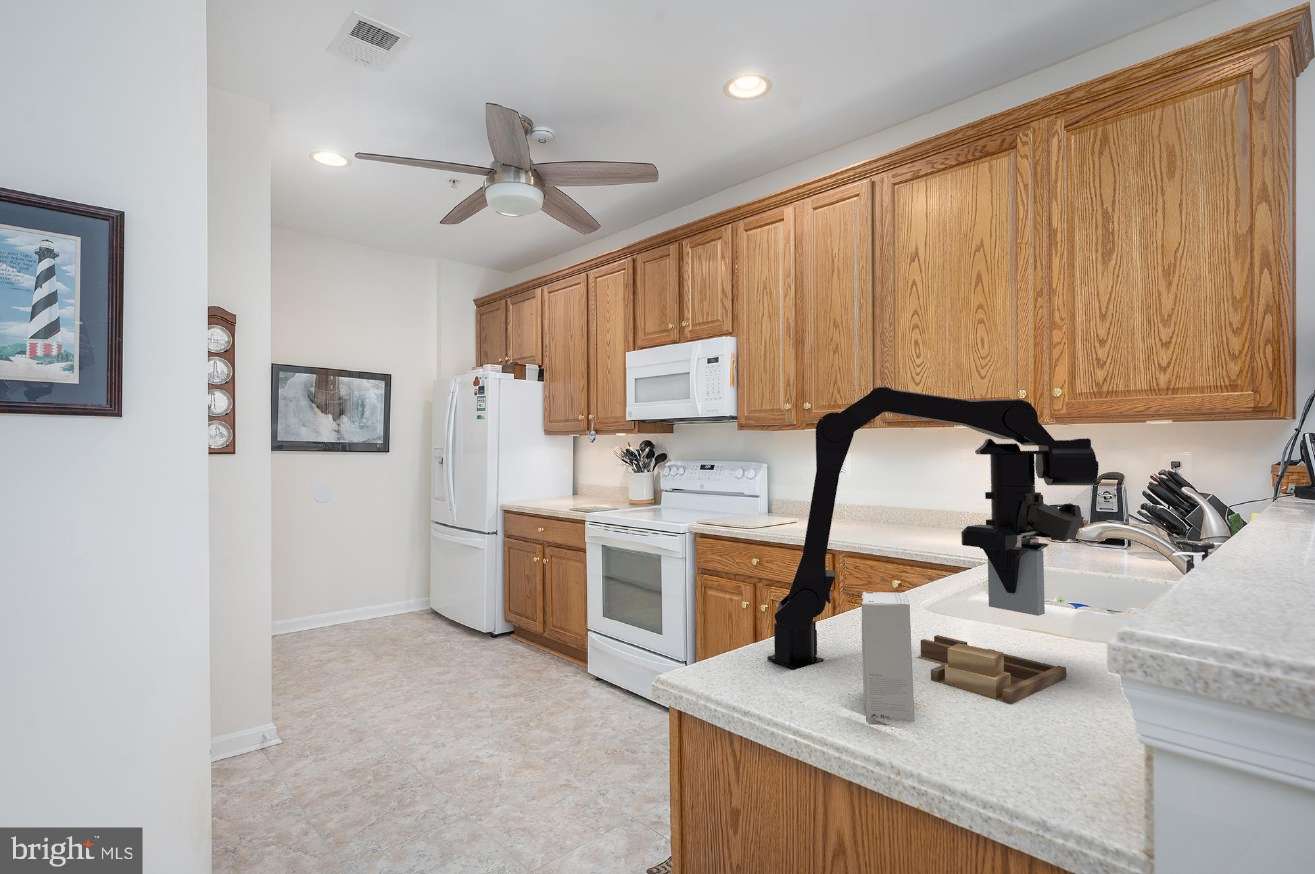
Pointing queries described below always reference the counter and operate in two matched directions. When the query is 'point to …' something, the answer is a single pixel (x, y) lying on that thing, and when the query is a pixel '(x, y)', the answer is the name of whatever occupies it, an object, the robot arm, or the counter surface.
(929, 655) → the stand
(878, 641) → the skincare box
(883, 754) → the counter surface
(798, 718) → the counter surface
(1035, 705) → the counter surface
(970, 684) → the offcut
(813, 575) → the robot arm
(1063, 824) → the counter surface
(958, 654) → the offcut
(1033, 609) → the gray rectangular block
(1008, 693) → the rack
